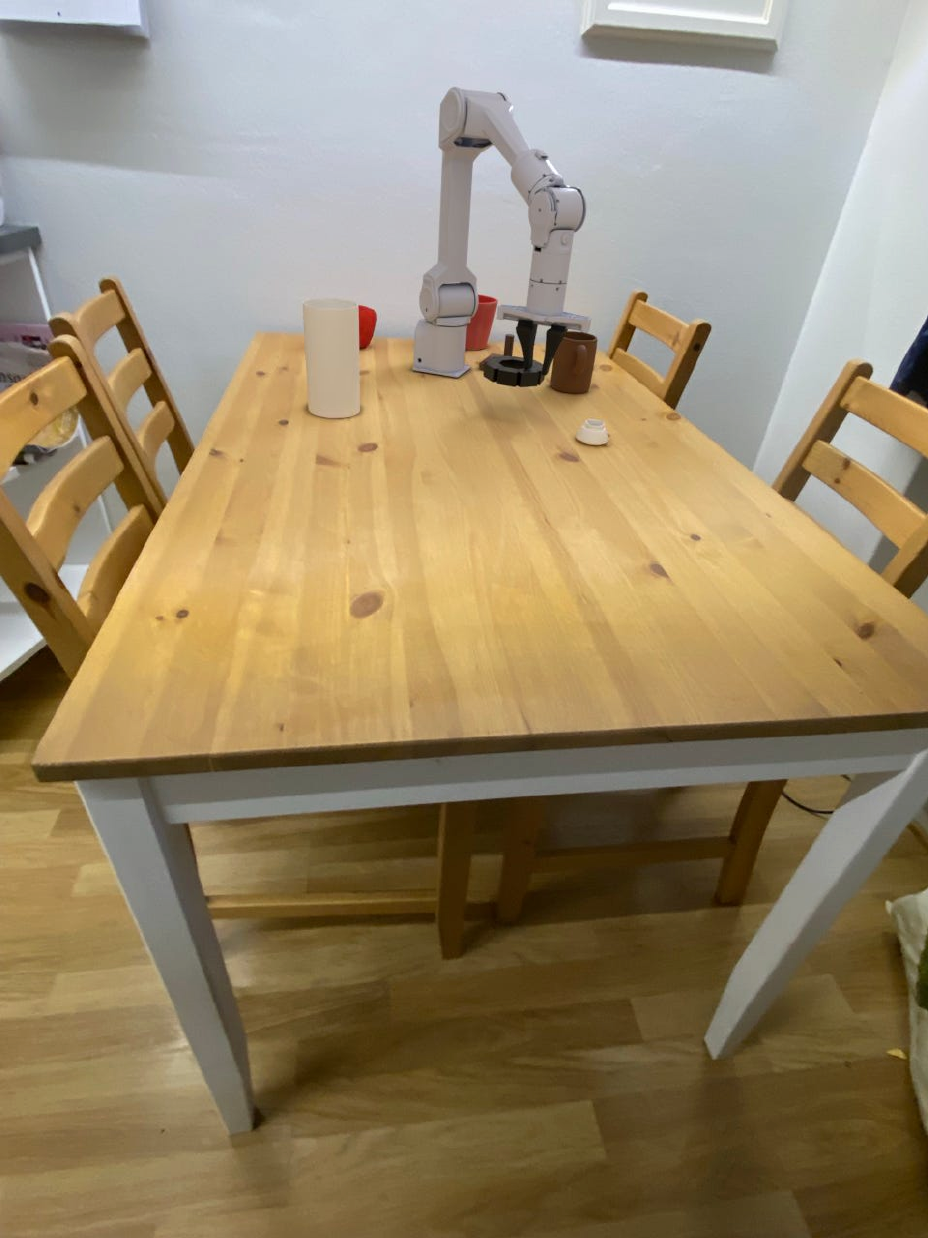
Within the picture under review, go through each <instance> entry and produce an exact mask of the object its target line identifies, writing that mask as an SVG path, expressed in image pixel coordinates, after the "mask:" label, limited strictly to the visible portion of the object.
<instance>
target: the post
mask: <svg viewBox="0 0 928 1238" xmlns="http://www.w3.org/2000/svg"><path fill="white" fill-rule="evenodd" d="M504 337H505V338H504V346H503V354H502V353H495V352H491V353H490V354H489V355H488V356H486V357H485V358H484V359H482V361H480V362H479V365H478V370H481V371H484V362H485V361H486V360H487V359H489V358H490V357H491V358H493V357H495V356H511V357H513V356H514V354H513V353H514V345H515V344H514V343H515V337H516V335H514V334H510V333H507V334H505V335H504Z"/></svg>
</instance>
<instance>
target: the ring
mask: <svg viewBox="0 0 928 1238" xmlns="http://www.w3.org/2000/svg"><path fill="white" fill-rule="evenodd" d="M512 356H513V357H511V356H495V357H493V358H491V357H490V358H489V359H487V360H486V361H485V362H484V370H483V372H482V373H483V378H485V379H486V380H487V381H490V382H491V383H493V384H494V383H496V384H497V385H502V386H508V387H512V388H513V387H514V388H516V387H519V388H528V387H529V388H531V387H537V386H541V385H542V383H544V381H545V380H546V379H545V378H546V376H544V375H542V368H543V362H541V361H538V360H536V359H533V363H532V366H531V367H530V368H528V369H524V359H523V356H516V355H512Z"/></svg>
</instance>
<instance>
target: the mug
mask: <svg viewBox="0 0 928 1238" xmlns="http://www.w3.org/2000/svg"><path fill="white" fill-rule="evenodd" d="M598 341H599V340H598V337H597V336H596V335H594V334H592V333H589V332H587V333H584V332H581V331H577V330H568V331H567V333H566V334H565V336H564V338H563V339H562V341H561V343H560V345H559V347H558V349H557V351H556V353H555V355H554V357H553V360H552V363H551V373H550V382H549V383H550V387H551V388H553V389H554V390H556V391H558V392H562V393H567V394H583V393H586V392H588V391H589V389H590V388H591V383H592V378H593V372H594V368H595V362H596V361H595V360H596V356H597V351H598Z"/></svg>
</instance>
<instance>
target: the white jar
mask: <svg viewBox="0 0 928 1238" xmlns="http://www.w3.org/2000/svg"><path fill="white" fill-rule="evenodd" d="M605 426H606V424H605V422H604V421H602V420H599V419H595V418H593V419H586V420H585V421H584V422H583V424H582V425H580V428H579V429H578V430H577V432H576V433H575V439H576V440H578V441H579V442H581V443H583V444H585V445H590V446H600V445H604V444H607V443H608V442H609V440H610V439H609V434H608V431H607V427H605Z"/></svg>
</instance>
